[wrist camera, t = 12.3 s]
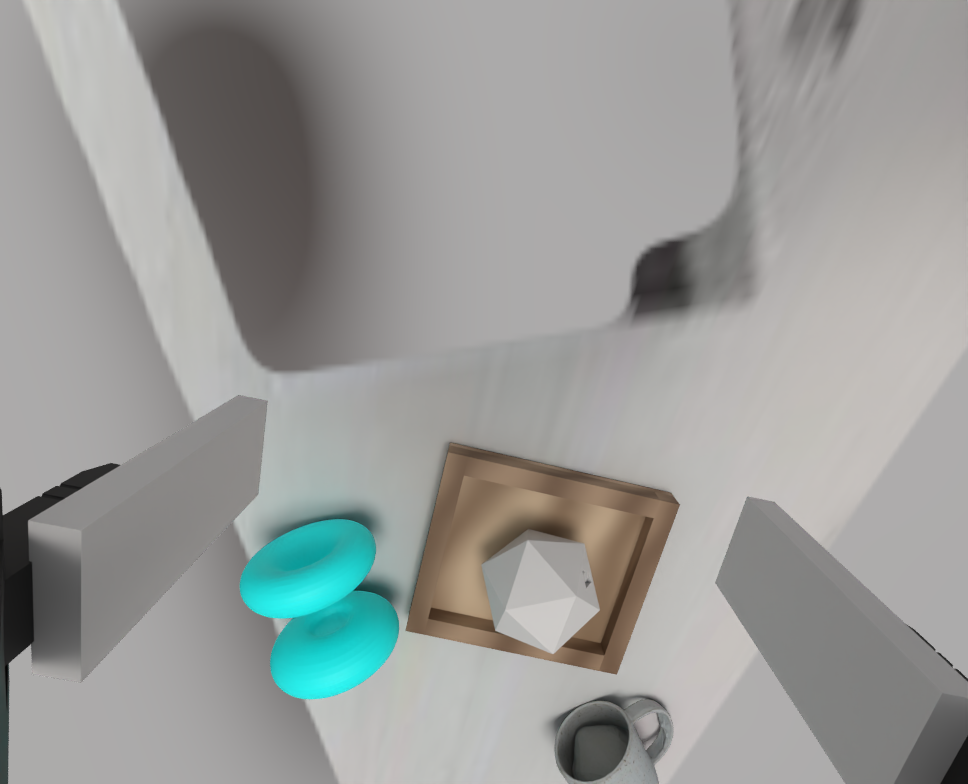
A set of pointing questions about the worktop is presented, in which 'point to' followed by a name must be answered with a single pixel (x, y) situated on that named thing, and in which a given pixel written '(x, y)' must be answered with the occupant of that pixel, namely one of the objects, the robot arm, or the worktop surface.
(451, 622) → the tray
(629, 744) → the ceramic mug
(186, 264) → the worktop surface
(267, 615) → the donuts
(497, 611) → the die
